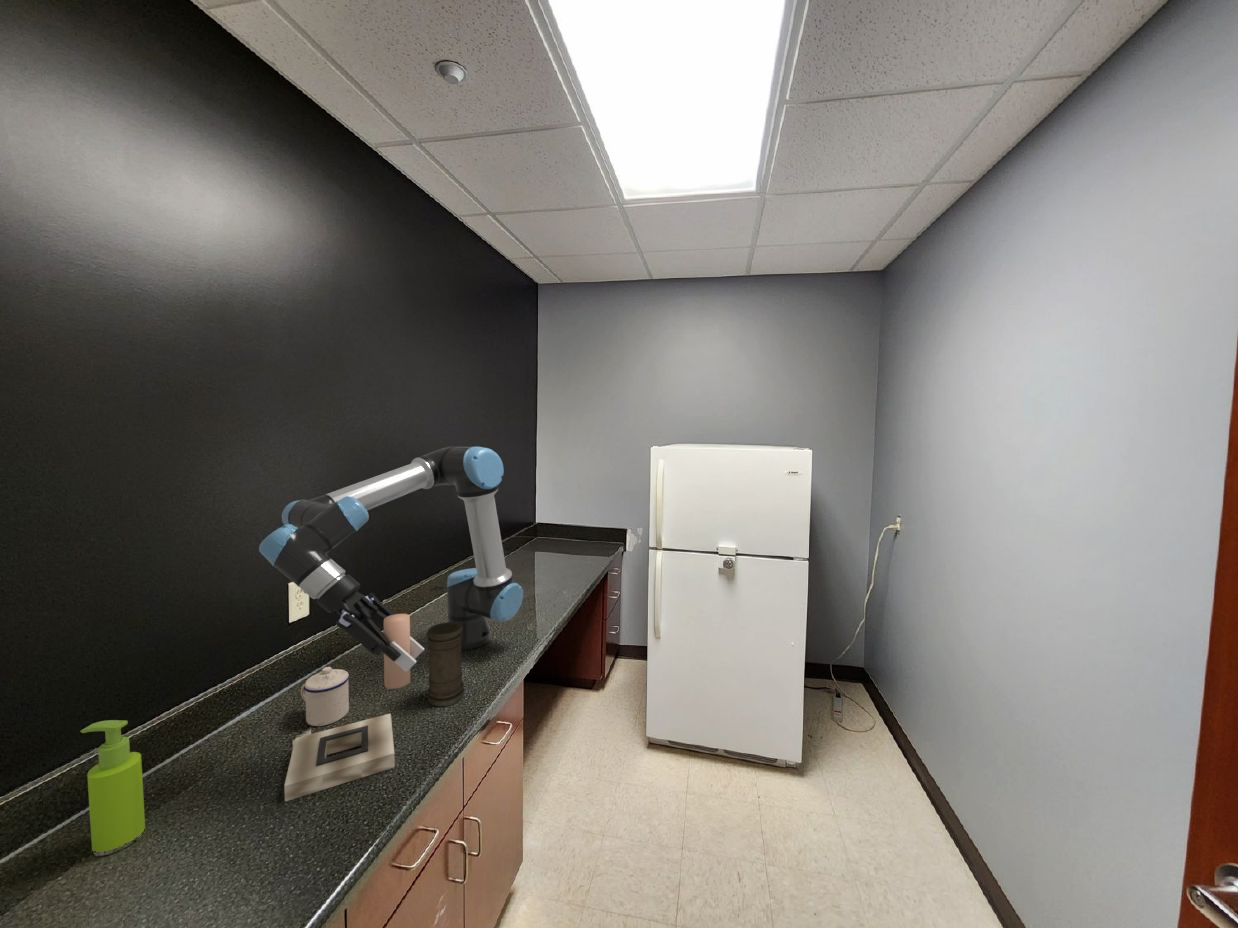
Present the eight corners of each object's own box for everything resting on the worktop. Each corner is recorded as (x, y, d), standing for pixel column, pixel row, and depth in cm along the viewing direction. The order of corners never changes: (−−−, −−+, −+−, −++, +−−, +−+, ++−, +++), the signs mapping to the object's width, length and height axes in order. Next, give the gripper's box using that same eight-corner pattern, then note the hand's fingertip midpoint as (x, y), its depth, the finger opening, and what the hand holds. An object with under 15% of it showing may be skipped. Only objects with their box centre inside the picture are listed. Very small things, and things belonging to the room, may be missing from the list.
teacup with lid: (359, 707, 112) (357, 661, 111) (327, 730, 103) (325, 680, 102) (319, 700, 114) (318, 655, 114) (285, 722, 106) (283, 673, 105)
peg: (409, 674, 100) (408, 612, 100) (411, 684, 96) (410, 620, 95) (383, 679, 98) (382, 616, 97) (385, 691, 93) (384, 624, 93)
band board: (390, 725, 105) (390, 711, 104) (394, 767, 92) (394, 751, 91) (295, 751, 96) (295, 736, 96) (284, 801, 83) (284, 783, 83)
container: (452, 708, 111) (451, 637, 110) (419, 704, 113) (418, 634, 112) (471, 689, 120) (470, 622, 119) (440, 685, 122) (439, 619, 121)
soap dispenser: (111, 826, 77) (104, 713, 76) (155, 823, 78) (149, 711, 77) (73, 858, 71) (65, 736, 70) (120, 855, 72) (113, 734, 71)
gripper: (338, 585, 103) (415, 653, 106) (293, 616, 85) (387, 696, 88) (363, 562, 103) (439, 629, 106) (323, 587, 85) (415, 668, 88)
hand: (415, 659), depth 97 cm, fingers closed on peg, 5 cm apart
